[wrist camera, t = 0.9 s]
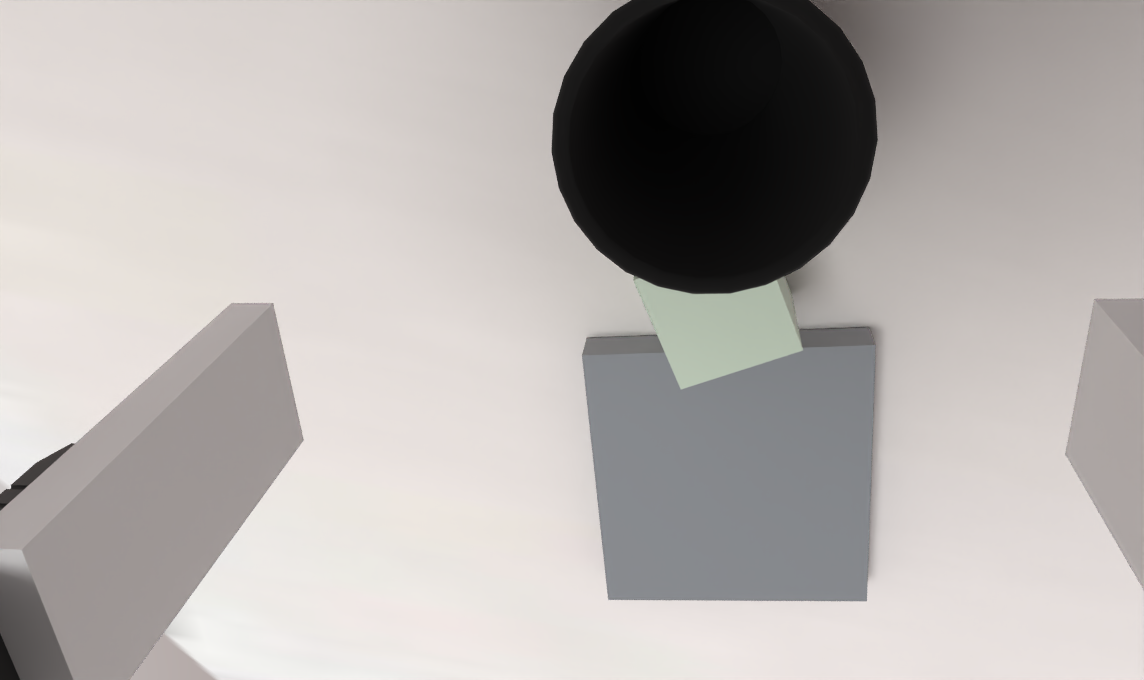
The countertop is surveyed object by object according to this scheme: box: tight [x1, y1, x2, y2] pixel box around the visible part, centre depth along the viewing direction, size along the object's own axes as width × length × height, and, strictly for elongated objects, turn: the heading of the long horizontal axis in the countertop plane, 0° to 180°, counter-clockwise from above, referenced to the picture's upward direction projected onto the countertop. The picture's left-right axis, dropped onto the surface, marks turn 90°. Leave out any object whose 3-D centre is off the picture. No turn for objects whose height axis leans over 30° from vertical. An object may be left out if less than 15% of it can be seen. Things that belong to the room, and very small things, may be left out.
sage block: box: [633, 276, 803, 389], centre depth 34 cm, size 4×4×5 cm
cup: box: [552, 0, 878, 294], centre depth 28 cm, size 8×8×12 cm
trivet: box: [582, 327, 876, 601], centre depth 40 cm, size 12×11×2 cm
